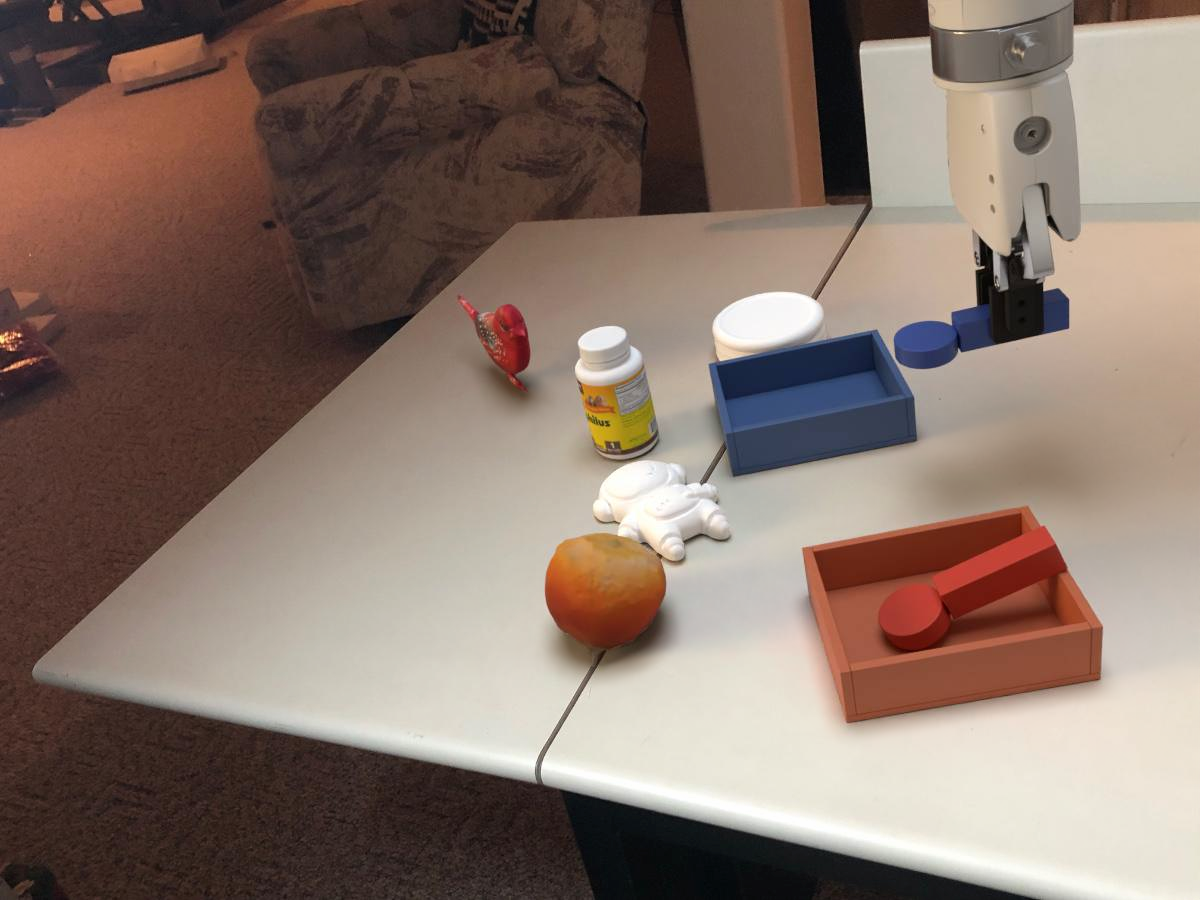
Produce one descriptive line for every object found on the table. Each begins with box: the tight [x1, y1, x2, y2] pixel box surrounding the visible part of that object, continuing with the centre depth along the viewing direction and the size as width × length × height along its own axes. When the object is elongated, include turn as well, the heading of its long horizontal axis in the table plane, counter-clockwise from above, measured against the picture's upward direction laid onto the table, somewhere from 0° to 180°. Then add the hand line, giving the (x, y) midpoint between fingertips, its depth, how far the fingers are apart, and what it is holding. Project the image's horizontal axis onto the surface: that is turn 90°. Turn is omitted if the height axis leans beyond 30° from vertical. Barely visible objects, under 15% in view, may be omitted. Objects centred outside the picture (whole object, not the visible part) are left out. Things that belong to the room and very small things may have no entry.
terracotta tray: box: [801, 505, 1104, 723], centre depth 65 cm, size 14×11×4 cm
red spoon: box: [878, 525, 1069, 650], centre depth 64 cm, size 11×4×2 cm, turn 92°
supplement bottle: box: [574, 325, 660, 460], centre depth 88 cm, size 6×6×10 cm
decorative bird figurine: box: [456, 294, 531, 393], centre depth 103 cm, size 3×18×10 cm, turn 28°
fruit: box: [544, 532, 667, 669], centre depth 71 cm, size 8×8×8 cm
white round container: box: [711, 291, 828, 361], centre depth 98 cm, size 10×10×4 cm
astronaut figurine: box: [592, 459, 731, 562], centre depth 81 cm, size 9×12×3 cm
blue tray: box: [708, 328, 918, 477], centre depth 87 cm, size 14×11×4 cm
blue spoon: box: [893, 287, 1070, 370], centre depth 71 cm, size 11×4×2 cm, turn 92°
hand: (1010, 327), depth 71 cm, fingers closed on blue spoon, 1 cm apart
